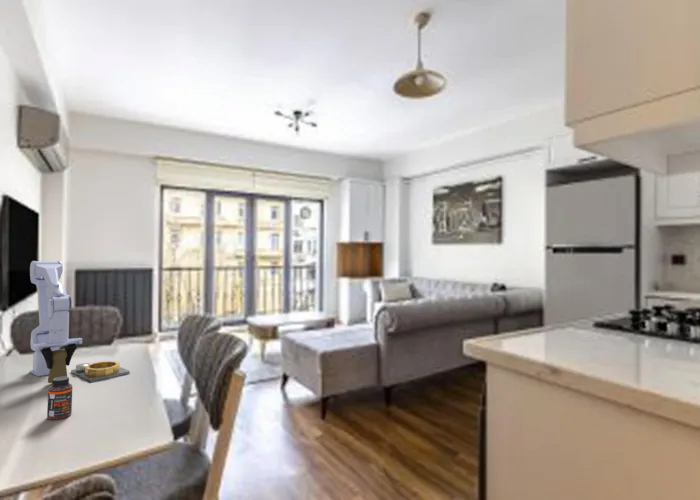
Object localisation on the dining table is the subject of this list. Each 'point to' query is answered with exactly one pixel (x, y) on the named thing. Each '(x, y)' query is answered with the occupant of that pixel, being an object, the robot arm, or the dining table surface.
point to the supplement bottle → (59, 398)
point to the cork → (58, 365)
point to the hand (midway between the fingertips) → (58, 366)
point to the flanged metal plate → (99, 370)
